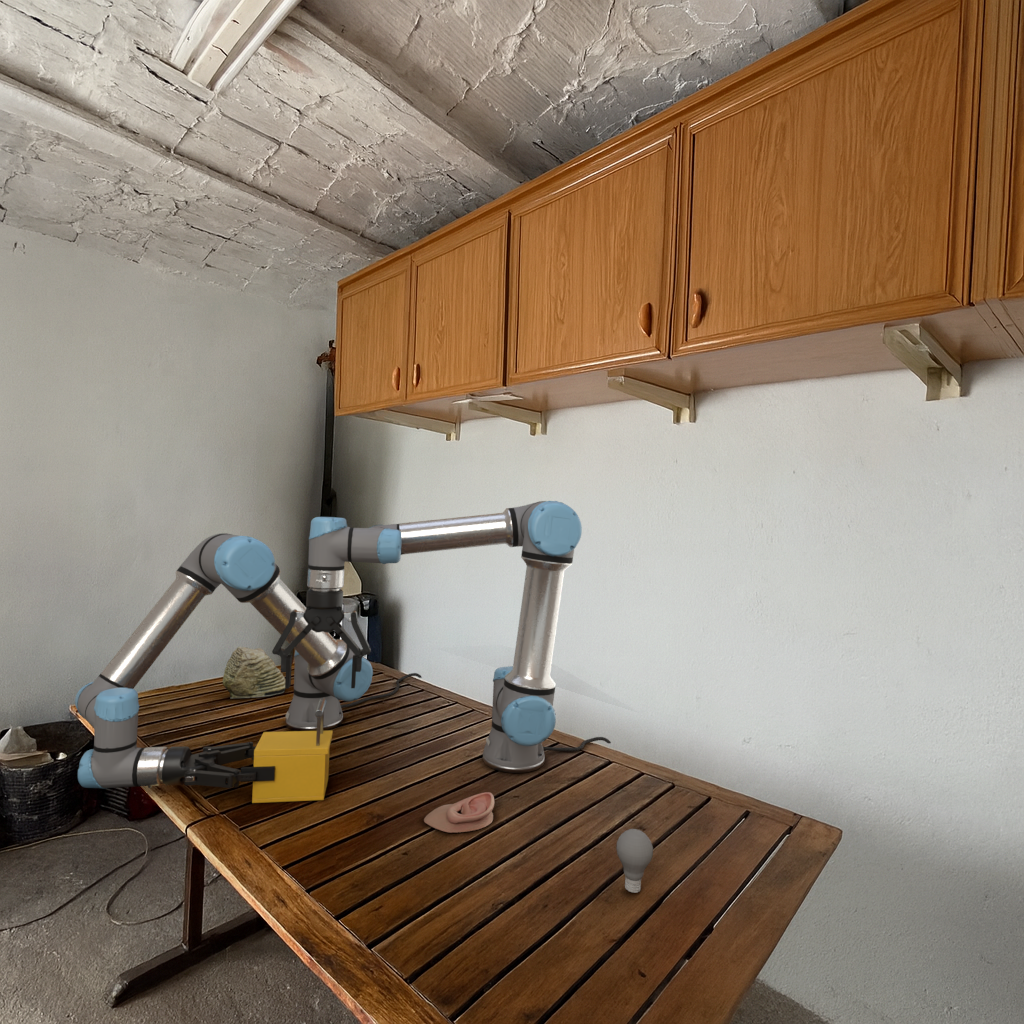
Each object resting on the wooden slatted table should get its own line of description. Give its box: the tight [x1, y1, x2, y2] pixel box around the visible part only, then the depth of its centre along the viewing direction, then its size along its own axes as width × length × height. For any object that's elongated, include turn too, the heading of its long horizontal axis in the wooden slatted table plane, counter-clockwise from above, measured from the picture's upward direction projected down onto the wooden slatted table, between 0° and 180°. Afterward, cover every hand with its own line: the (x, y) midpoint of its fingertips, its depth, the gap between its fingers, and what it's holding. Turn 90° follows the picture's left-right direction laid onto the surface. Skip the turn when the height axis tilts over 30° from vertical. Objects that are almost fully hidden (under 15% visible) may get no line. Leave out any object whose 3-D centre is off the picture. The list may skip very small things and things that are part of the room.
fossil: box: [222, 646, 286, 699], centre depth 198 cm, size 9×18×15 cm, turn 132°
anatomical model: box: [423, 791, 495, 834], centre depth 127 cm, size 13×4×12 cm
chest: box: [251, 748, 330, 804], centre depth 136 cm, size 14×10×10 cm
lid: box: [254, 698, 334, 756], centre depth 136 cm, size 15×10×9 cm
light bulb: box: [615, 828, 654, 894], centre depth 106 cm, size 6×6×10 cm
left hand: (279, 762), depth 135 cm, fingers closed on chest, 10 cm apart
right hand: (320, 686), depth 137 cm, fingers open, 13 cm apart
